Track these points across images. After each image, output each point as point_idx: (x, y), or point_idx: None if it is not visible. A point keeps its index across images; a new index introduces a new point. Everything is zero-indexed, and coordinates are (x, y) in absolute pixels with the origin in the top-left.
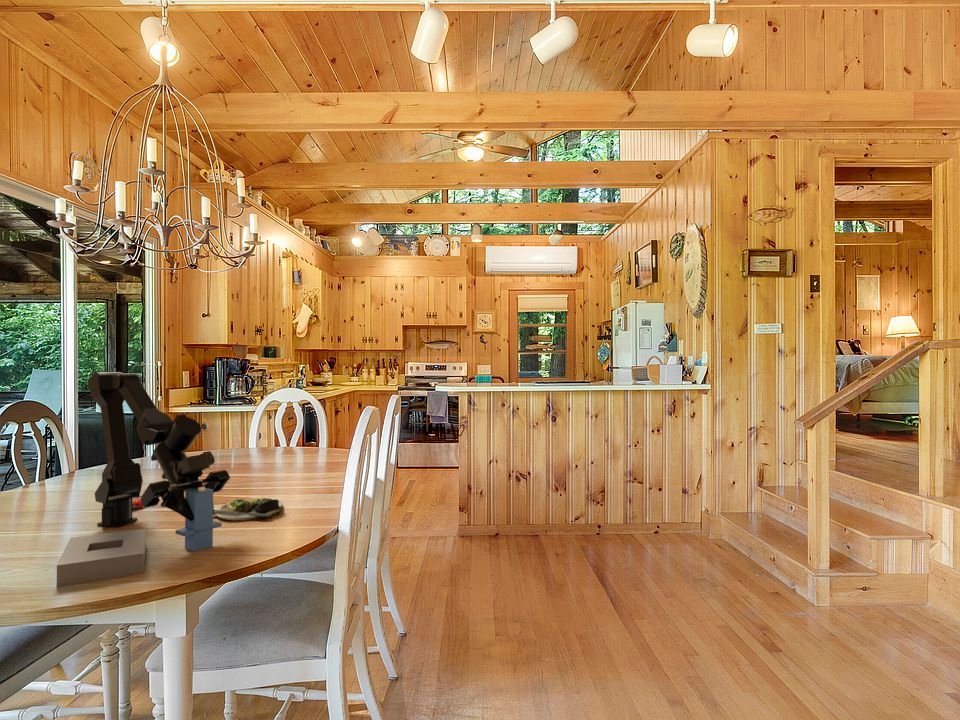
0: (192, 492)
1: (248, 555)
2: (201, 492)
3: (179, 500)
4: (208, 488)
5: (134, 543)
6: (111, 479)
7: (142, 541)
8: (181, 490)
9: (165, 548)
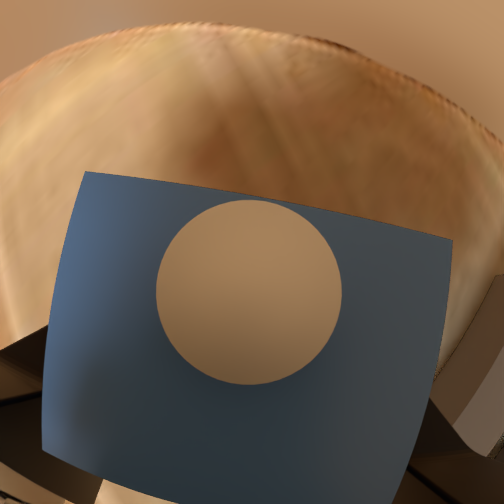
0: (416, 360)
1: (248, 83)
2: (327, 216)
3: (453, 430)
4: (8, 388)
5: (493, 406)
6: None
7: (471, 407)
8: (485, 498)
9: None
